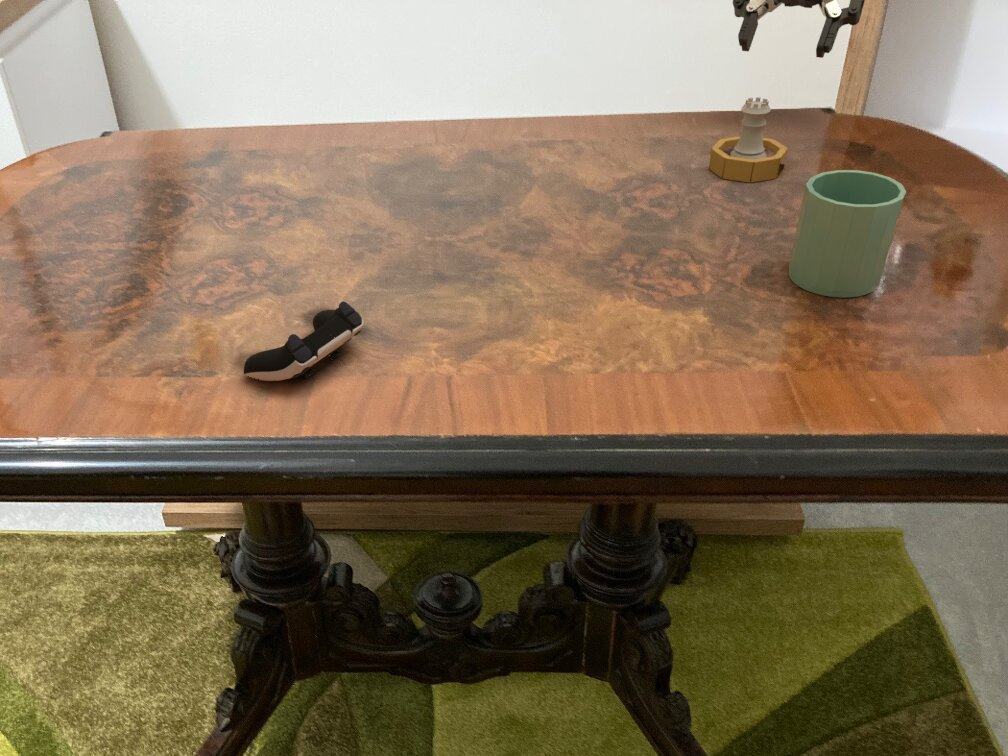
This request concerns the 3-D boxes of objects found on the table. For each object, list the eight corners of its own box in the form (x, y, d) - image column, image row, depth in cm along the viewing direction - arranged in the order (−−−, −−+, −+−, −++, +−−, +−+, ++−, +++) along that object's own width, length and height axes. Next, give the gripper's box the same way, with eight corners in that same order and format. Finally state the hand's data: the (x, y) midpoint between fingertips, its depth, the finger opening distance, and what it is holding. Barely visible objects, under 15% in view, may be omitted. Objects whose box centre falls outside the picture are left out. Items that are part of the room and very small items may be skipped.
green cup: (887, 267, 89) (913, 177, 84) (870, 305, 84) (896, 212, 79) (800, 251, 93) (818, 164, 87) (778, 286, 88) (796, 197, 82)
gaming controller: (266, 408, 81) (299, 380, 76) (235, 368, 81) (266, 336, 75) (346, 352, 88) (382, 322, 82) (317, 314, 87) (352, 281, 82)
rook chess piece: (737, 178, 108) (748, 109, 103) (719, 164, 112) (729, 97, 107) (772, 172, 109) (785, 104, 104) (754, 159, 112) (765, 92, 107)
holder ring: (789, 161, 111) (793, 141, 109) (771, 186, 106) (774, 165, 104) (722, 152, 114) (725, 132, 113) (702, 175, 109) (705, 155, 108)
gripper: (889, -56, 108) (845, 73, 108) (765, -60, 115) (724, 62, 114) (892, -100, 102) (845, 38, 101) (761, -102, 108) (716, 28, 108)
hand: (781, 50), depth 108 cm, fingers open, 8 cm apart
